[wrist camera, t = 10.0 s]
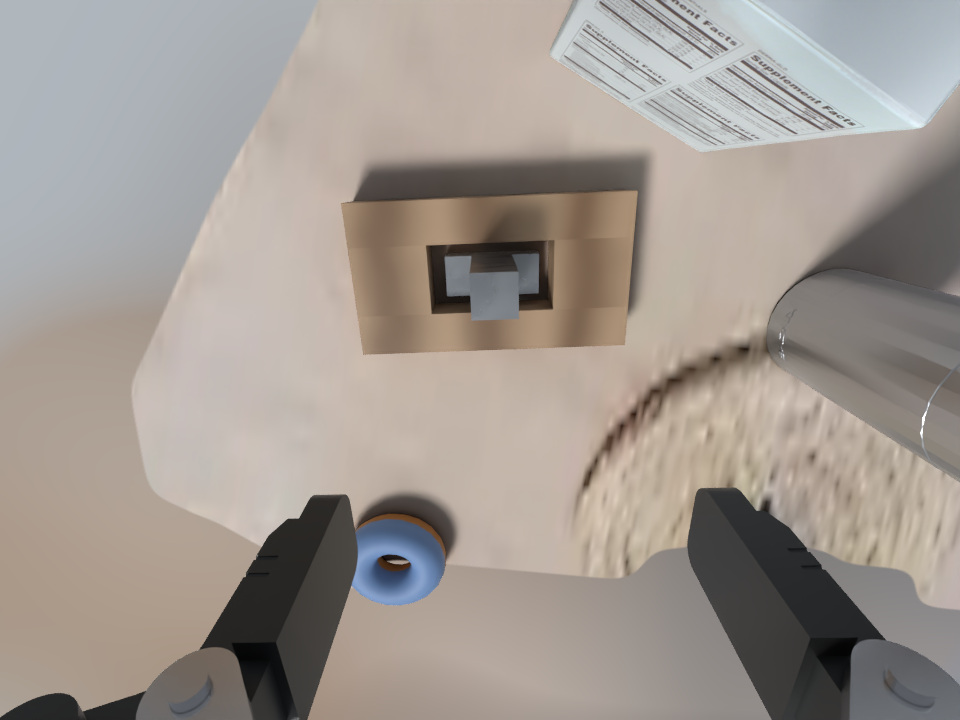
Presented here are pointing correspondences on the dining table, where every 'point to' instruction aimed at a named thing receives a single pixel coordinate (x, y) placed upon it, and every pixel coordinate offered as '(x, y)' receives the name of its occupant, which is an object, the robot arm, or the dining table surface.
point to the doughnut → (402, 540)
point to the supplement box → (767, 64)
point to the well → (491, 219)
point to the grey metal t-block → (493, 281)
